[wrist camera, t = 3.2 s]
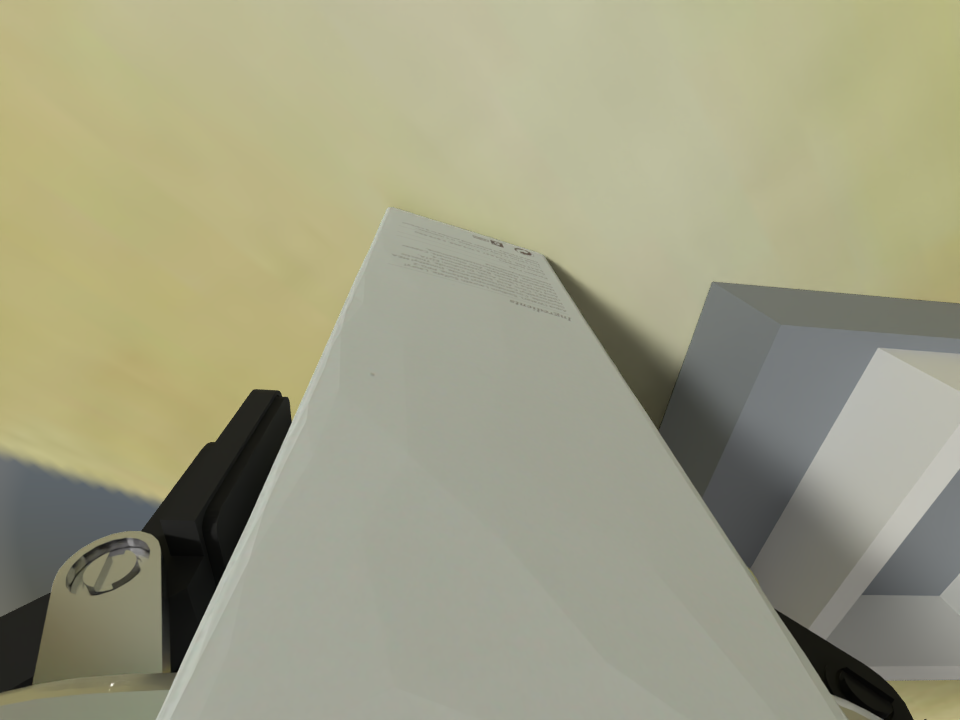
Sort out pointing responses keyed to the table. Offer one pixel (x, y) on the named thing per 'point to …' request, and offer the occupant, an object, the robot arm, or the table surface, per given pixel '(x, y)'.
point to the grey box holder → (834, 462)
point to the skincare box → (482, 527)
